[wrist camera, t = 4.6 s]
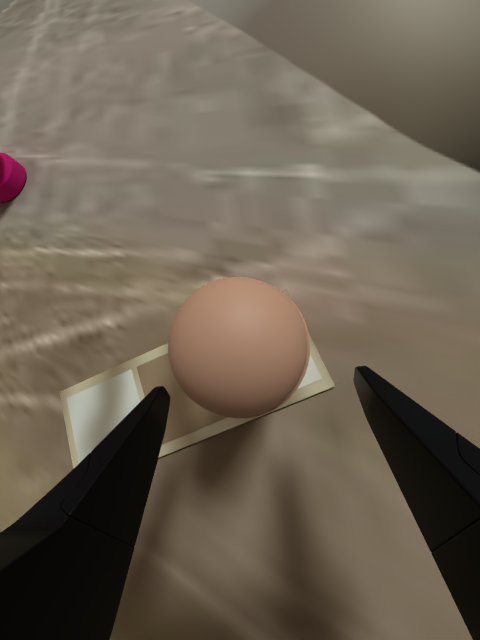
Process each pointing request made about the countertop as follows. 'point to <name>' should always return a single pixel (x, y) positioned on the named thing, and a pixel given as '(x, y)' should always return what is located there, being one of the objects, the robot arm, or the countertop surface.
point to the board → (136, 382)
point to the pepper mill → (10, 177)
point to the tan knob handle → (239, 347)
